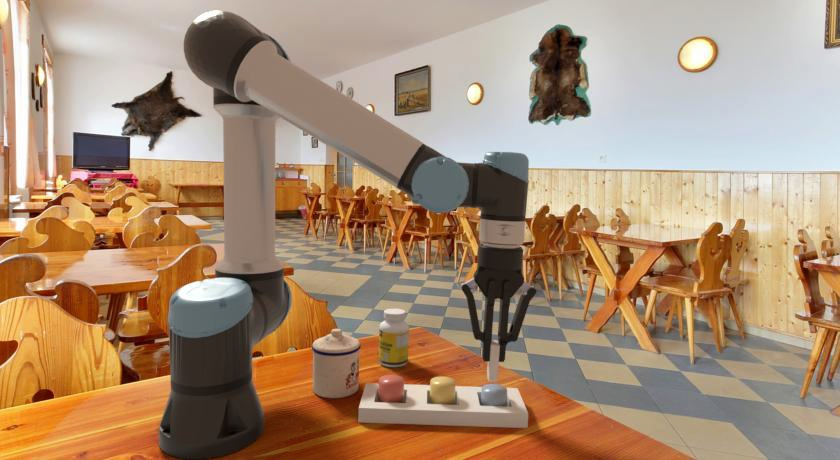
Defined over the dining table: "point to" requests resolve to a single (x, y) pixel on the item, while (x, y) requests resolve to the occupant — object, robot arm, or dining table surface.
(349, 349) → the teacup with lid
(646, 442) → the dining table surface
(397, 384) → the red button
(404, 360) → the pill bottle
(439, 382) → the mustard button
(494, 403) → the blue button
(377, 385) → the panel
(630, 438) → the dining table surface
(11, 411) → the dining table surface
